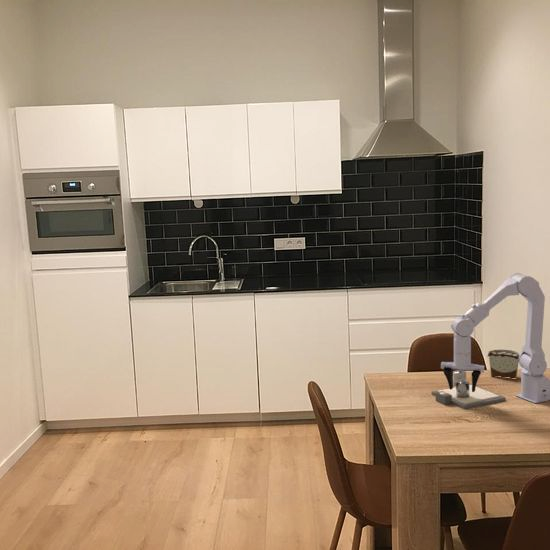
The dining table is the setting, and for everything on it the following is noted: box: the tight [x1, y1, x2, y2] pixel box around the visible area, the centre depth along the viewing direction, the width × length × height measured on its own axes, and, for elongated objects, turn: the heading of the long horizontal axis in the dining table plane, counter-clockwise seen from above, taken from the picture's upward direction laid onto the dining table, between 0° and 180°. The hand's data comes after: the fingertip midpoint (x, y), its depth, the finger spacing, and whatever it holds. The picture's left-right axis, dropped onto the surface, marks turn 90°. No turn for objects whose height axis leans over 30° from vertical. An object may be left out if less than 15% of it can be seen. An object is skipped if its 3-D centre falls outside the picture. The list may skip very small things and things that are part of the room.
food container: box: [487, 349, 521, 379], centre depth 245 cm, size 12×6×10 cm, turn 58°
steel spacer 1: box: [453, 369, 467, 387], centre depth 238 cm, size 4×4×5 cm
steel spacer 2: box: [455, 380, 470, 398], centre depth 220 cm, size 4×4×5 cm
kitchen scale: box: [431, 383, 507, 410], centre depth 222 cm, size 18×21×3 cm
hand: (462, 389), depth 219 cm, fingers open, 7 cm apart
